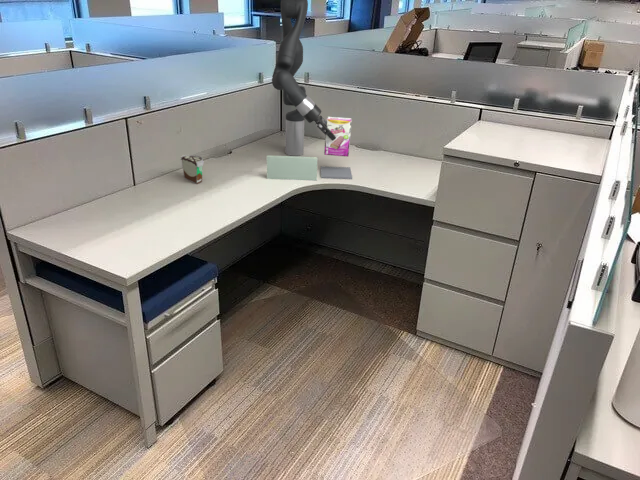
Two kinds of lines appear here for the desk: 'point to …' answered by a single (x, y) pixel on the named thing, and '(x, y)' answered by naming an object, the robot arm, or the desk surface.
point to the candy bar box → (338, 136)
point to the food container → (192, 168)
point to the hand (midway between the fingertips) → (334, 137)
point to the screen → (292, 167)
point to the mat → (336, 172)
